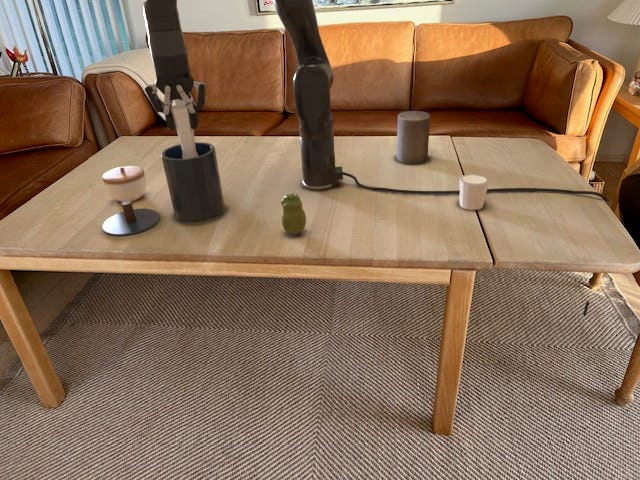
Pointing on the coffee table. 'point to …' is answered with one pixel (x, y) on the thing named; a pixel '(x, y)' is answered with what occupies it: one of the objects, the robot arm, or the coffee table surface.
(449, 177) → the coffee table surface
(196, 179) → the canister
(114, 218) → the lid
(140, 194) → the trinket box
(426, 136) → the pillar candle
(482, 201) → the white cylinder
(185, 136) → the perfume bottle
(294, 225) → the green figurine
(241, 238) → the coffee table surface
